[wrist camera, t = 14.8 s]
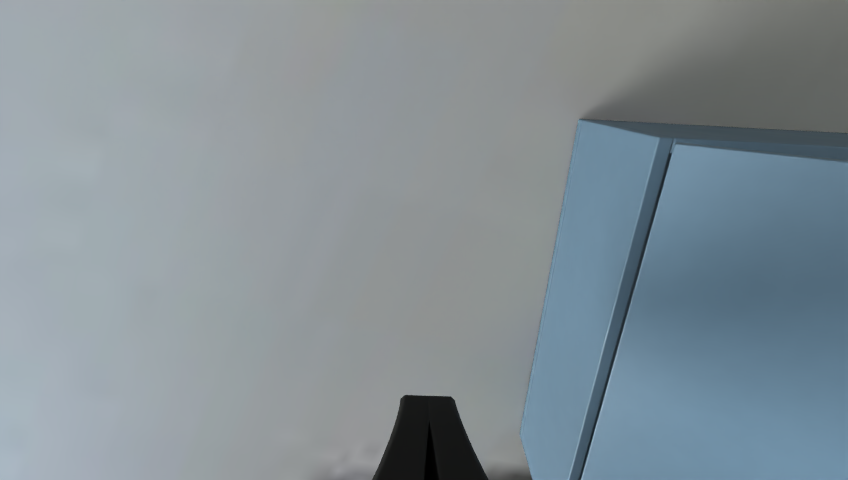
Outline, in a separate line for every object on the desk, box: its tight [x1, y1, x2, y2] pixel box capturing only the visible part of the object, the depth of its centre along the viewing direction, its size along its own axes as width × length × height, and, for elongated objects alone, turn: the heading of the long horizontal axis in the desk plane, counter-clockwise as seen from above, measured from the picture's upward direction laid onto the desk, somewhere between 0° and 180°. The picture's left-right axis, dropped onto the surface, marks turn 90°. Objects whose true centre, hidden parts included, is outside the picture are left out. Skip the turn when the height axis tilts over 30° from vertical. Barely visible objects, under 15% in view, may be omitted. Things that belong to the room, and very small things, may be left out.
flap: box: [581, 142, 848, 480], centre depth 10 cm, size 16×7×1 cm
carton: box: [520, 119, 848, 480], centre depth 15 cm, size 16×15×5 cm
